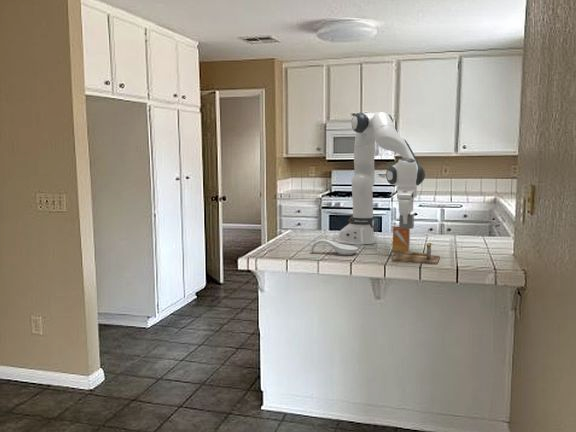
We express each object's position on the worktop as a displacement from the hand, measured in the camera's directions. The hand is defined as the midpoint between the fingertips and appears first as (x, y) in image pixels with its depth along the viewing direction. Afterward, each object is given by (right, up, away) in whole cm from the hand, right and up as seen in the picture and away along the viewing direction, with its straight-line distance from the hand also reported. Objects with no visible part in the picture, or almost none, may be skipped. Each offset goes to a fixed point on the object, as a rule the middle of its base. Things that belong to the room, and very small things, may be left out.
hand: (406, 222), depth 243 cm
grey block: (0, -2, 0) cm, 2 cm away
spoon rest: (-33, -16, +16) cm, 39 cm away
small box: (+2, -15, +22) cm, 26 cm away
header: (+5, -17, 0) cm, 18 cm away
